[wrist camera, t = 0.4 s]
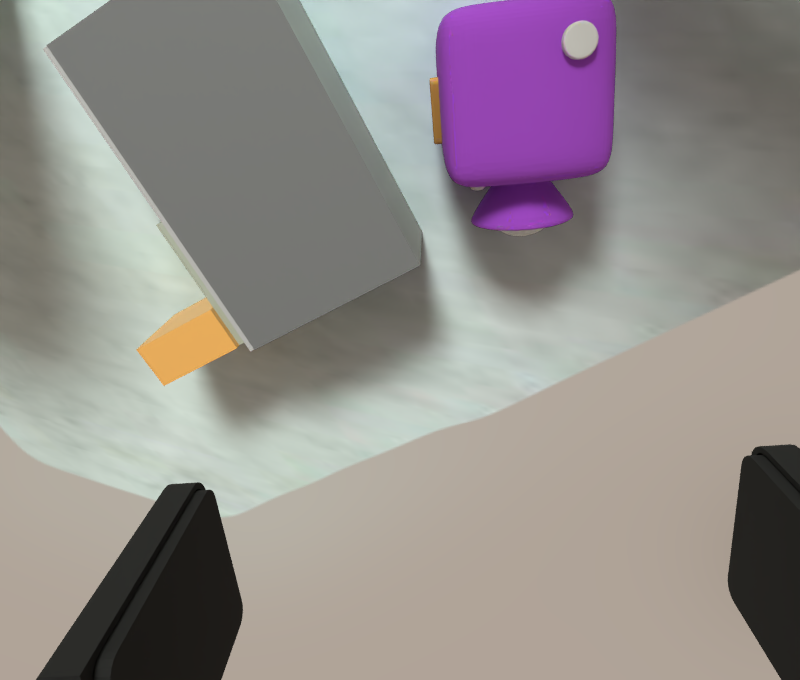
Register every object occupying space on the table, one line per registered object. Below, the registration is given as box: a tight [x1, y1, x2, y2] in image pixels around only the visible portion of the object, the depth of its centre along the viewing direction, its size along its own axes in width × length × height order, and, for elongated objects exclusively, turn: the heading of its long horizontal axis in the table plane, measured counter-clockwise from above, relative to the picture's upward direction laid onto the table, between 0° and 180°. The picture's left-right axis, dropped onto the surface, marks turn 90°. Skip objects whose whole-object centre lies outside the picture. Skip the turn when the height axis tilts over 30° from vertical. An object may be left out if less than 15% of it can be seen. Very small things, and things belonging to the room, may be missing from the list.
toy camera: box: [430, 0, 616, 236], centre depth 37 cm, size 11×14×10 cm
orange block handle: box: [136, 222, 244, 386], centre depth 42 cm, size 9×7×8 cm
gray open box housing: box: [43, 0, 422, 352], centre depth 38 cm, size 22×12×9 cm, turn 28°
